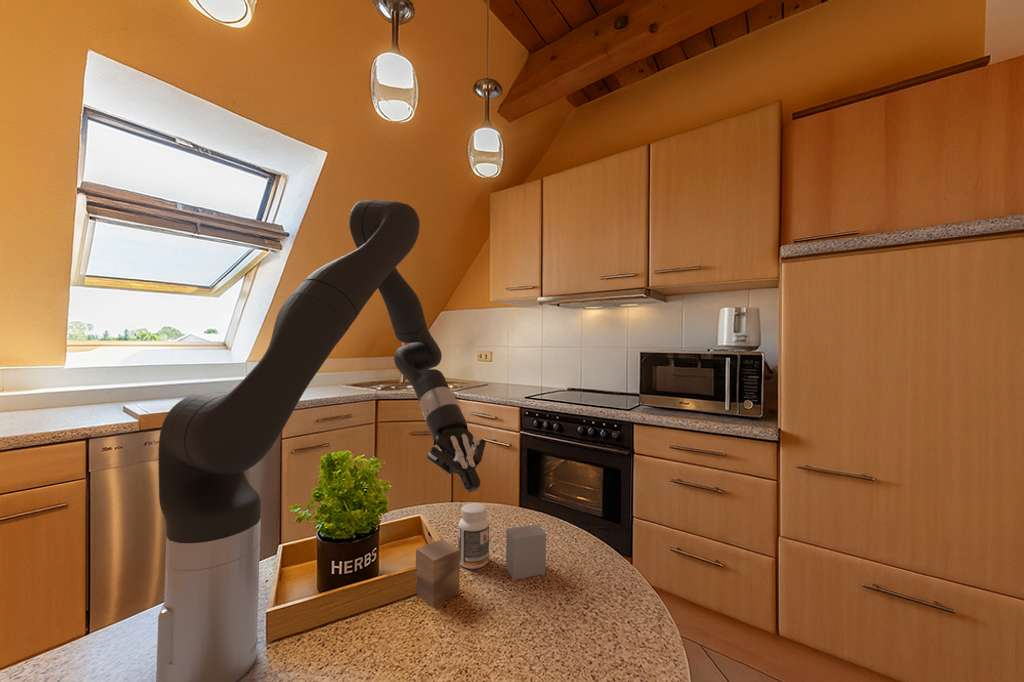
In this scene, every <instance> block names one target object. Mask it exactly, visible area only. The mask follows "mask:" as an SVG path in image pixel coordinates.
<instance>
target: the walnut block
mask: <svg viewBox="0 0 1024 682" xmlns="http://www.w3.org/2000/svg"><path fill="white" fill-rule="evenodd" d="M460 567H461V565H460V549H458V547H456V546H454V544H451V543H450V542H448V541H446V540H444V539H443V538H441V539H439V540H436V541H433V542H430V543H428V544H425V545H422V546H420V547H417V548H416V549H415V569H416V568H417V582H416V583H417V585H416V593H415V594H416V595H417V596H419V597H420V599H422V600H423V601H424V602H426V604H428V605H429V606H430V607H431V608H434V607H436V606H438V605H439V604H442V603H444V602H446V601H448V600H450V599H452V598H453V597H456V596H457V595H459V594H460V573H461V568H460Z"/></svg>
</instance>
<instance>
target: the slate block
mask: <svg viewBox="0 0 1024 682" xmlns="http://www.w3.org/2000/svg"><path fill="white" fill-rule="evenodd" d="M505 536H506V540H505V541H506V542H505V543H506V544H505V545H506V546H505V568H506V570H507V572H508V573H509V575H510V577H511V578H512V580H513V581H514V580H520V579H524V578H529V577H535V576H536V577H537V576H542V575H546V573H547V571H546V570H547V568H546V567H547V562H546V561H547V559H546V557H547V533H546V532H545V531H544V529H542V527H540V526H539V524H538V523H537V524H530V525H523V526H514V527H507V528H506V535H505Z"/></svg>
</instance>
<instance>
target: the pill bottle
mask: <svg viewBox="0 0 1024 682" xmlns="http://www.w3.org/2000/svg"><path fill="white" fill-rule="evenodd" d="M487 512H488V510H487V506H486V505H485V504H484V503H480V502H479V503H478V502H477V503H476V502H474V503H473V502H472V503H467V504H464V505H462V507H461V510H460V516H461V518H460V520H459V522H458V524H457V525H458V526H457V527H458V533H457V534H458V538H457V539H458V540H457V541H458V543H457V546H458V547H457V548H458V549H460V567H463V568H465V569H471V570H474V569H480V568H483V567H484V566H486V565H487V564H488V563H489V560H490V522H489V519H488V518H487V517H486V515H487Z"/></svg>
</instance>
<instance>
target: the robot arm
mask: <svg viewBox="0 0 1024 682" xmlns="http://www.w3.org/2000/svg"><path fill="white" fill-rule="evenodd" d="M348 221H349V223H348V225H349V231H350V235H351V237H352V240H353V243H354V244H355V247H356V249H355V250H353V251H351V252H349V253H347V254H345V255H343V256H340V257H339V258H336V259H334V260H332V261H330V262H328V263H326V264H324V265H323V266H321V267H319V268H317V269H316V270H314V271H312V273H310V274H309V275H308V276H306V278H305V279H303V281H302V282H301V283H300V284H299V285H298V286H297V287H296V288H295V289H294V291H293V292H292V293H291V294H290V295H289V296H288V297H287V298H286V300H285V301H284V302H283V304H282V305H281V307H280V309H279V311H278V313H277V316H276V317H275V318H276V319H275V322H274V324H273V325H274V326H273V331H272V334H271V338H270V341H269V345H268V347H267V349H266V351H265V352H264V354H263V356H262V357H261V359H260V360H259V361H258V363H256V365H255V366H254V367H253V368H252V370H251V371H250V372H249V373H248V374H247V375H246V376H245V377H244V378H243V379H242V380H241V381H240V382H239V383H238V384H237V385H236V387H234V388H233V389H232V390H231V391H230V392H227V393H226V392H219V391H218V392H217V391H204V392H198V393H194V394H191V395H189V396H186V397H184V398H183V399H181V400H180V401H179V402H178V401H177V403H176V404H175V405H173V406H172V407H171V409H170V410H169V411H168V412H167V415H166V417H165V418H164V419H163V422H162V425H161V428H160V432H159V436H158V437H159V438H158V459H157V460H158V499H159V500H158V501H159V507H160V509H161V513H162V515H163V518H164V520H165V524H166V533H165V534H166V537H165V538H166V540H165V541H166V542H165V544H166V545H165V570H164V601H163V605H162V607H161V609H160V611H159V614H158V618H157V620H158V621H157V642H156V645H157V646H156V648H157V649H156V671H155V672H156V674H155V675H156V676H155V677H156V678H155V682H238V681H239V680H240V679H242V677H243V676H244V675H246V674H247V673H248V672H249V670H250V669H251V668H252V667H253V666H254V663H255V661H256V658H257V654H258V653H257V652H258V648H257V647H258V639H259V638H258V623H259V594H260V593H259V591H260V587H259V585H260V557H261V556H260V554H261V552H260V551H261V525H262V524H261V521H262V519H261V517H262V499H261V496H260V495H259V493H258V492H257V490H255V489H254V487H253V486H252V485H251V484H250V482H249V480H248V478H247V476H246V474H245V471H247V470H249V469H251V468H253V467H254V466H256V465H257V464H258V463H259V462H261V460H263V459H264V457H266V456H267V454H268V453H269V452H270V450H271V449H272V448H273V446H274V445H275V444H276V442H277V440H278V438H279V437H280V435H281V433H282V432H283V430H284V428H285V426H286V425H287V423H288V422H289V419H290V417H291V415H292V414H293V412H294V410H295V409H296V407H297V405H298V403H299V402H300V400H301V398H302V397H303V394H304V393H305V391H306V389H307V388H308V386H309V385H310V384H311V382H312V380H313V379H314V377H315V376H316V375H317V374H318V372H319V370H320V369H321V367H322V366H323V365H324V363H325V362H326V360H327V359H328V357H329V356H330V354H331V353H332V351H333V350H334V349H335V347H336V346H337V344H338V343H339V342H341V339H342V338H343V337H344V336H345V334H346V333H347V331H348V330H349V329H350V327H351V326H352V324H353V323H354V322H355V321H356V319H357V318H358V316H359V315H360V313H361V311H362V310H363V308H364V307H365V306H366V304H367V303H368V302H369V300H370V299H371V297H372V296H373V295H374V294H375V292H376V291H377V290H378V291H379V293H380V295H381V298H382V299H383V302H384V305H385V307H386V310H387V314H388V317H389V318H390V319H389V320H390V322H391V325H392V329H393V332H394V335H395V337H396V339H397V340H398V341H399V342H400V343H406V344H405V345H402V346H400V347H398V348H397V349H396V350H395V352H394V355H393V362H394V364H395V366H396V368H397V370H398V371H399V372H400V373H401V375H402V376H404V378H405V379H406V380H407V382H408V383H410V385H411V387H412V388H413V390H414V393H415V395H416V397H417V400H418V403H419V405H420V409H421V413H422V416H423V417H422V418H424V421H425V423H426V426H427V429H428V430H429V433H430V435H431V438H432V440H433V446H432V447H431V449H430V450H429V451H428V453H427V454H426V458H427V459H428V460H429V461H431V462H432V463H434V464H435V465H436V466H438V467H439V468H440V469H441V470H443V471H445V472H446V473H448V474H449V475H453V474H457V475H458V476H459V478H460V480H461V482H462V484H463V485H462V486H463V487H464V489H465V490H467V492H468V493H472V492H475V491H477V490H479V488H480V486H481V485H480V484H481V479H480V476H479V475H478V472H477V470H476V468H477V467H478V466H479V465H480V463H481V462H482V460H483V456H484V451H485V446H486V443H487V441H486V439H484V438H482V439H480V440H478V439H477V438H475V437H474V435H473V433H471V432H470V431H469V429H468V422H467V420H466V418H465V416H464V414H463V411H462V409H461V407H460V406H459V402H458V401H457V398H456V397H455V394H453V392H452V391H451V389H450V386H449V385H448V382H447V380H446V378H445V376H444V374H443V373H442V371H440V370H439V369H437V368H436V367H438V366H439V364H441V361H442V358H443V357H442V356H443V355H442V351H441V348H440V346H439V344H438V343H437V341H435V339H434V338H433V336H432V334H431V333H430V331H429V329H428V326H427V323H426V317H425V313H424V310H423V306H422V304H421V300H420V299H419V296H418V295H417V294H416V293H417V292H415V291H414V289H413V288H412V287H411V286H410V284H409V283H408V282H407V281H406V279H405V278H404V277H403V276H402V274H401V273H400V271H398V269H397V266H399V264H400V263H401V262H402V261H403V260H404V259H405V258H406V256H407V255H409V253H410V252H411V251H412V249H413V248H414V246H415V244H416V242H417V240H418V238H419V233H420V218H419V215H418V213H417V211H416V209H414V208H413V207H412V206H411V205H409V204H407V203H404V202H400V201H393V200H375V199H365V200H363V199H362V200H360V201H358V202H356V203H355V204H354V206H353V207H352V208H351V211H350V212H349V218H348ZM435 368H436V369H435Z"/></svg>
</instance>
